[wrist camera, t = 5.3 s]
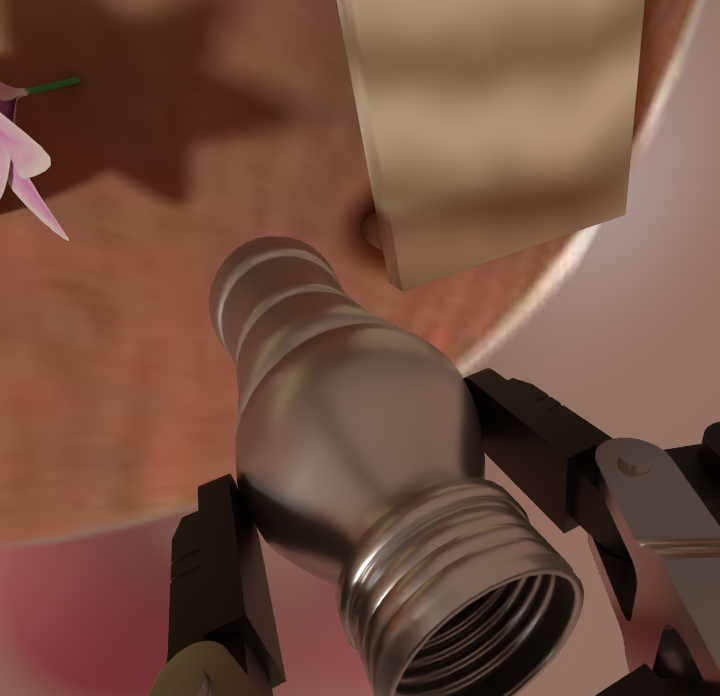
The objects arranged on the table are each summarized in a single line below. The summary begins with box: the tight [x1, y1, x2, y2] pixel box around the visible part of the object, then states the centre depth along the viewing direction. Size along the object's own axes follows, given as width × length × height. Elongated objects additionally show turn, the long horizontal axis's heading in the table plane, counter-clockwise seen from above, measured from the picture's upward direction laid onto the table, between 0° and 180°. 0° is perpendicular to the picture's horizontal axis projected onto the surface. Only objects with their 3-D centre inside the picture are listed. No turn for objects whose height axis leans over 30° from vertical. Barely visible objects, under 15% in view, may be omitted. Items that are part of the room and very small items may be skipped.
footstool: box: [337, 0, 645, 291], centre depth 25 cm, size 22×17×8 cm
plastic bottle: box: [209, 236, 584, 696], centre depth 15 cm, size 6×7×20 cm
